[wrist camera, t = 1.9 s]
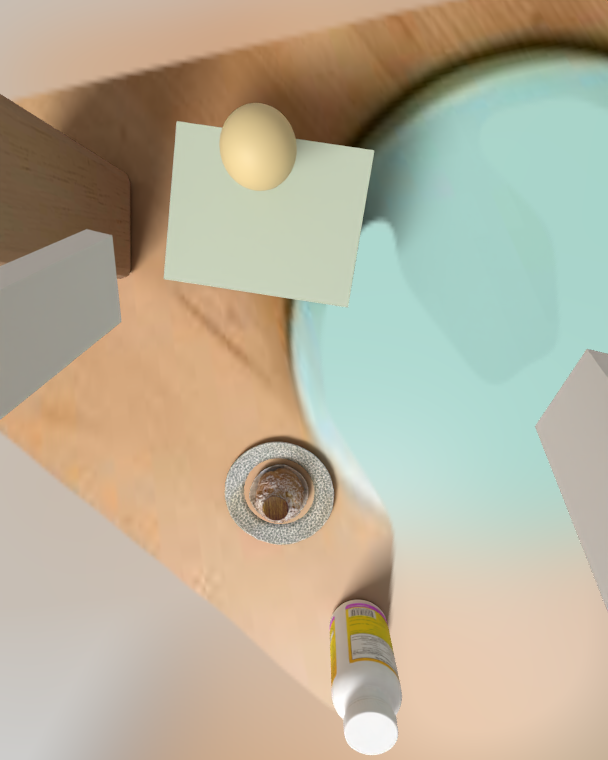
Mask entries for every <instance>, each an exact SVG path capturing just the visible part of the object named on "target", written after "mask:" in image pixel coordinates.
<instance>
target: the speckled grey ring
mask: <svg viewBox="0 0 608 760" xmlns="http://www.w3.org/2000/svg"><path fill="white" fill-rule="evenodd" d="M273 458H283V459H288V460H291V461H294V462H296V463H298V464H299V465H301V466H302V467H303V468H304V469H305V470H306V471H307V472H308V473H309V475H310V477H311V478H312V481H313V484H314V489H315V496H314V501H313V503H312V506H311V508H310V509H309V511H308V512H307V513H306V514H305V515H304V516H303V517H302V518H300V519H298V520H296V521H294V522H292V523H288V524H273V523H269V522H266V521H264V520H262V519H260V518H259V517H257V516H256V515H255V514H254V513H253V512H252V511H251V510H250V508H249V507H248V505H247V503H246V500H245V496H244V485H245V480H246V478H247V476H248V474H249V472H250V471H251V470H252V469H253V468H254V467H255V466H256V465H258V464H259V463H261V462H263V461H265V460H268V459H273ZM278 468H280V469H278ZM276 469H278V470H276ZM249 498H250V501H251V503H252V505H253V507H254V508H255V509H256V511H257V512H259V513H260V514H261V515H262V516H263V517H264V518H266V519H267V520H269V521H271V522H274V523H283V522H284V521H285V522H286V521H288V520H290V519H292V518H294V517H296V516H297V515H298V514H299V513H300V510H302V509H303V508H304V506H305V505H306V501H307V500H308V486H307V483H306V480H305V479H304V477H303V476H302V475H301V474H300V473H299V472H298V471H296V470H295V469H293V468H291V467H289V466H287V465H284V464H283V465H281V464H280V465H275V466H272V467H268V468H266V469H264V470H263V471H261V472H260V474H259V475H258V476H257V477H256V478H255V480H254V481H253V483H252V486H251V489H250V493H249ZM225 500H226V504H227V507H228V510H229V513H230V515H231V517H232V518H233V520H234V521H235V523H236V524H237V525H238V526H239V527H240V528H241V529H242V530H243V531H245V532H246V533H248V534H249V535H251V536H252V537H254V538H256V539H258V540H261V541H264V542H267V543H271V544H278V545H285V544H292V543H296V542H299V541H301V540H304V539H306V538H308V537H310V536H312V535H313V534H314V533H316V532H317V531H318V530H319V529H320V528H321V527H322V526H323V525H324V524H325V523H326V521H327V520H328V518H329V516H330V513H331V511H332V508H333V501H334V488H333V484H332V480H331V477H330V474H329V472H328V471H327V469H326V467H325V466H324V464H323V463H322V462H321V461H320V460H319V459H318V458H317V457H316V456H315V455H314V454H313V453H311V452H310V451H308V450H306V449H304V448H302V447H300V446H298V445H294V444H291V443H287V442H268V443H263V444H260V445H257V446H255V447H253V448H251V449H249V450H247V451H246V452H244V453H243V454H242V455H241V456H240V457H239V458H238V459H237V460H236V461H235V462H234V463H233V465H232V466H231V468H230V470H229V472H228V474H227V477H226V482H225Z"/></svg>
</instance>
